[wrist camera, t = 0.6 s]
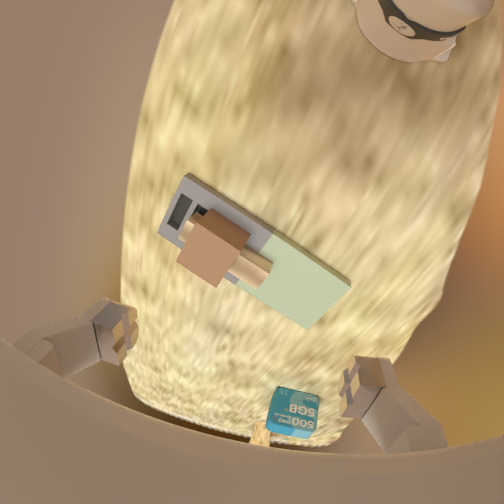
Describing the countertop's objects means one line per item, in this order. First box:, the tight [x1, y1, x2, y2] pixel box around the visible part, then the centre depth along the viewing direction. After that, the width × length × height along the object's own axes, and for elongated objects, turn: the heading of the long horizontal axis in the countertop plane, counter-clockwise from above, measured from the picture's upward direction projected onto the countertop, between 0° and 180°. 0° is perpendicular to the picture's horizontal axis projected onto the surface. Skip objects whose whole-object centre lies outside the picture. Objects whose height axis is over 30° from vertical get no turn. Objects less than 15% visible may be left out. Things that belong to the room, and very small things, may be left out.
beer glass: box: [249, 421, 271, 447], centre depth 74 cm, size 7×7×15 cm
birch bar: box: [178, 212, 273, 290], centre depth 49 cm, size 4×16×4 cm, turn 58°
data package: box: [265, 387, 319, 439], centre depth 64 cm, size 12×4×12 cm, turn 78°
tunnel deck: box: [157, 173, 351, 329], centre depth 49 cm, size 13×35×9 cm, turn 59°
